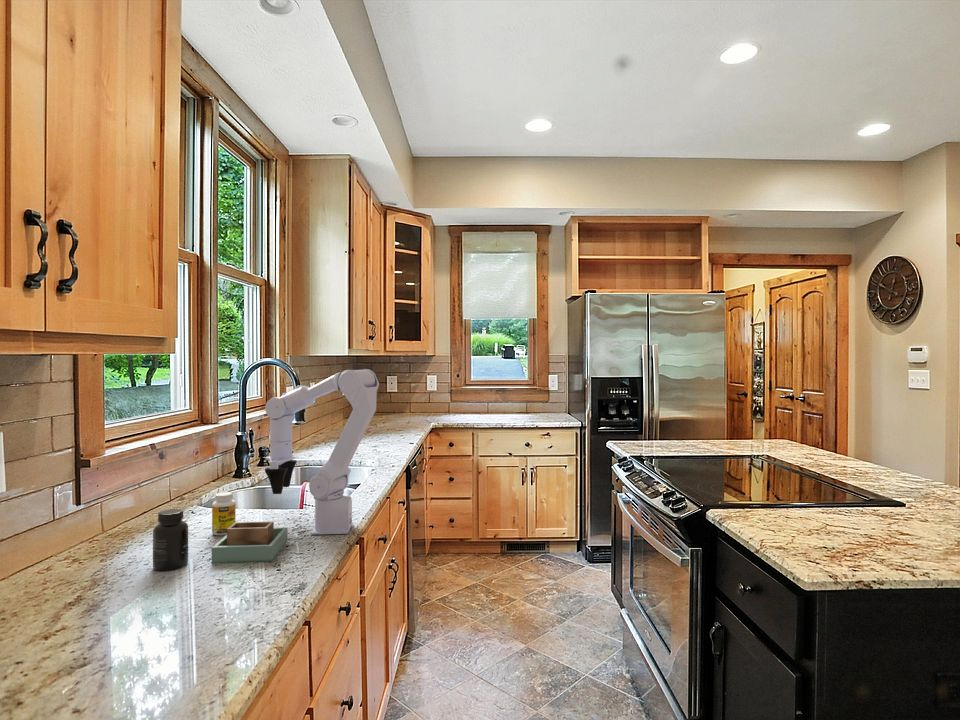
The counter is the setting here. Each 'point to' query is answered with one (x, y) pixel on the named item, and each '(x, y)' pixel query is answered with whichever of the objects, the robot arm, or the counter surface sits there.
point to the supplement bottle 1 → (170, 541)
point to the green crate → (249, 550)
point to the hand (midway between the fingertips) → (281, 490)
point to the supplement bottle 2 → (223, 513)
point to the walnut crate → (250, 533)
